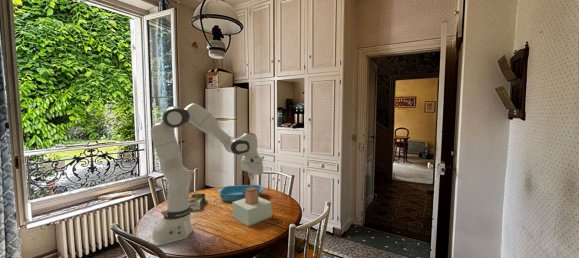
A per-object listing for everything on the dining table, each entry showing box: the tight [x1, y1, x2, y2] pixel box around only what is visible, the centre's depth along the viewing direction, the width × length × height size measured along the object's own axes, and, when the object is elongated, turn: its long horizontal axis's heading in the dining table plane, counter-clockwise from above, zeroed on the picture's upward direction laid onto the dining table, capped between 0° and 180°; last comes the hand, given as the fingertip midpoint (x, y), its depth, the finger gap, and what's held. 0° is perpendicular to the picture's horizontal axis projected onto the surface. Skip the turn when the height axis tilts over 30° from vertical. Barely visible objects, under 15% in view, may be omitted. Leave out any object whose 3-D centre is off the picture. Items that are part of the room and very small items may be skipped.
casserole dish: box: [217, 184, 265, 202], centre depth 188 cm, size 37×22×7 cm, turn 93°
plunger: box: [245, 187, 258, 205], centre depth 152 cm, size 6×6×12 cm
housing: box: [231, 196, 273, 227], centre depth 152 cm, size 19×19×10 cm
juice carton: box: [189, 193, 206, 211], centre depth 172 cm, size 20×10×6 cm, turn 10°
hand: (251, 179), depth 151 cm, fingers closed
